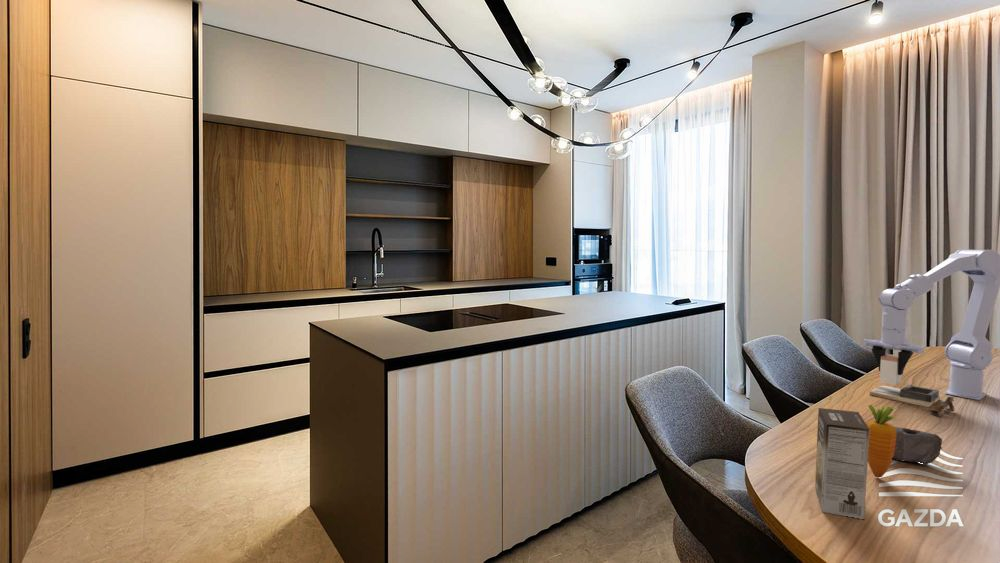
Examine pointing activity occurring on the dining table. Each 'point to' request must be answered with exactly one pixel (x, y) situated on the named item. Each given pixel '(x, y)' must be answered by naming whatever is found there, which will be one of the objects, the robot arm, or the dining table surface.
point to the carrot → (881, 441)
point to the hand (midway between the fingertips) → (890, 372)
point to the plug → (889, 369)
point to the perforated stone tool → (916, 446)
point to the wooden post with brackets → (942, 406)
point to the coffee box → (841, 462)
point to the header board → (908, 394)
